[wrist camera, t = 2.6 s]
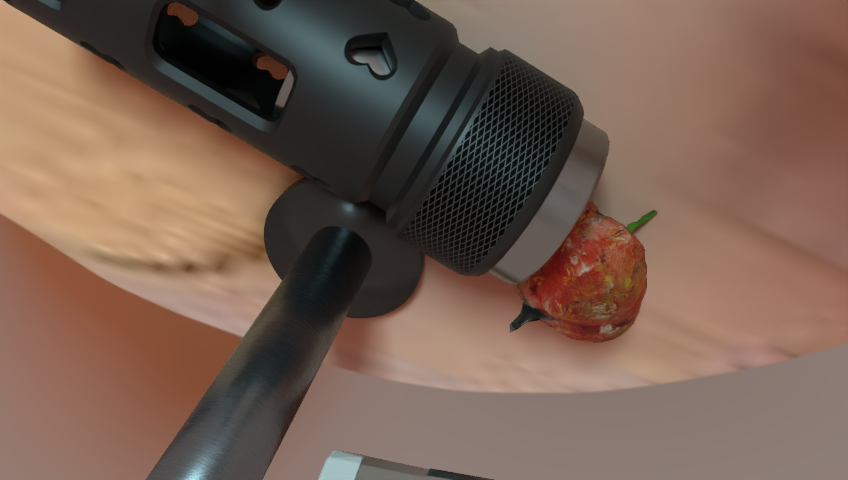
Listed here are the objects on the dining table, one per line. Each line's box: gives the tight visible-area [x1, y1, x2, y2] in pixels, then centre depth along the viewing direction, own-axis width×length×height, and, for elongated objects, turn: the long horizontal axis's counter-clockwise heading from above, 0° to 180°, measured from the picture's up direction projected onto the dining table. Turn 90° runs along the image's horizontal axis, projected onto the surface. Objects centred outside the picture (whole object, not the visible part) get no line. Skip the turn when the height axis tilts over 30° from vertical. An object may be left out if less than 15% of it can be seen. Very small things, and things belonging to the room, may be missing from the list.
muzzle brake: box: [4, 0, 609, 285], centre depth 28 cm, size 10×28×10 cm, turn 62°
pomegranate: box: [510, 202, 657, 342], centre depth 33 cm, size 7×7×10 cm
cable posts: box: [146, 178, 424, 480], centre depth 23 cm, size 10×38×24 cm, turn 0°
